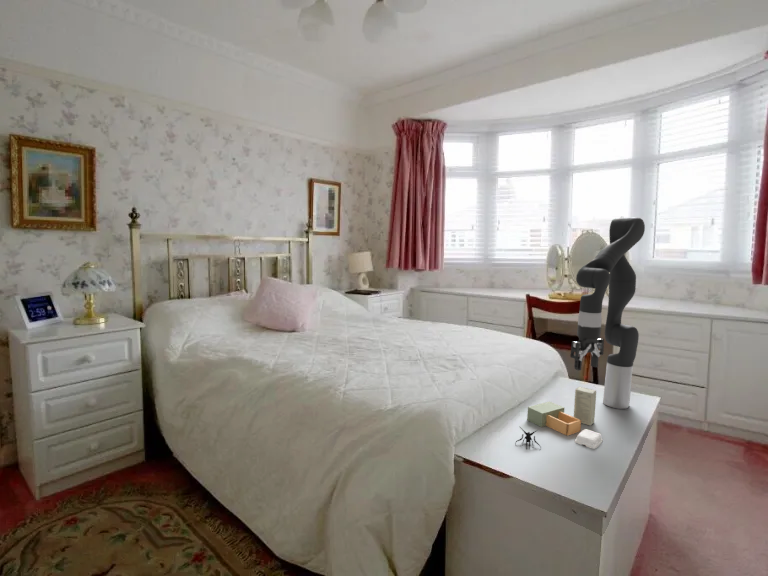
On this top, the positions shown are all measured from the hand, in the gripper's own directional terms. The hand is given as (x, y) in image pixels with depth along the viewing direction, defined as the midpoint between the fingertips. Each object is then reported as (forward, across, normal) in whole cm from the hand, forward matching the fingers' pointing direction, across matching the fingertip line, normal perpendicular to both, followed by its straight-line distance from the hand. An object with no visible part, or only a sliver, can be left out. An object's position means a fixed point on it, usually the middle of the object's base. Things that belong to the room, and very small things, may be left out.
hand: (586, 368), depth 153 cm
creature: (+20, +32, +6) cm, 38 cm away
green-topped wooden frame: (+20, +12, -2) cm, 23 cm away
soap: (+21, +11, +11) cm, 26 cm away
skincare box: (+20, -1, 0) cm, 21 cm away
